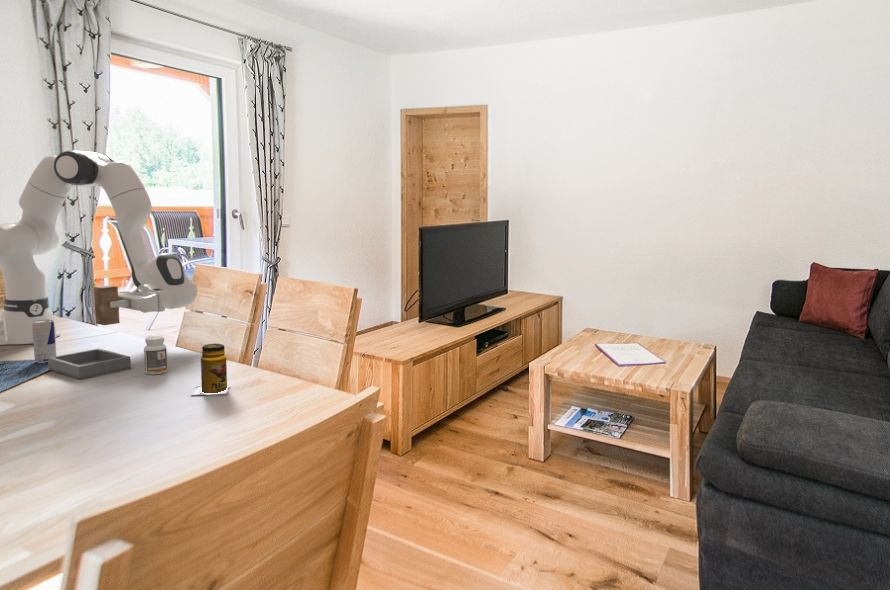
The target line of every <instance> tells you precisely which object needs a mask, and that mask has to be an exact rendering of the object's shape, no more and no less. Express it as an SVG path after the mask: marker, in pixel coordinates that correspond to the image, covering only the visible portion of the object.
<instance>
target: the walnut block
mask: <svg viewBox="0 0 890 590" xmlns="http://www.w3.org/2000/svg"><path fill="white" fill-rule="evenodd" d="M118 291H119V287H118V286H115V285H111V284H108V285H98V286H97V285H96V286H93V297H94V298H93V299H94V311H95V312H94V315H95V316H94V317H95V324H98V325H101V326H110V325H116V324H120V307H115V308H110V307H108V302H109V301H118Z"/></svg>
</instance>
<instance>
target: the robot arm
mask: <svg viewBox="0 0 890 590" xmlns="http://www.w3.org/2000/svg"><path fill="white" fill-rule="evenodd" d="M73 186H78V187H79V186H81V187H101V188H102V189H103V190H104V192H105V194H106V196H107V197H108V200H109V202H110V204H111V206H112V209H113V212H114V214H115V215H114V216H115V218H116V223H117V224H116V225H117V231H118V233H119V237H120V238H119V239H120V240H121V244H122V246H123V249H124V251H125V253H126V257H127V259H128V262H129V265H130V268H131V279H132V282H133V285H134V286H135V287H136V289H134V290H133V291H128V290H127V291H126V290H118V301H109V302H108V307H110V308H115V307H119V308H122V309H127V310H133V311H137V312H139V311H140V312H141V313H144V314H145V313H153V312H154V313H156V312H158V313H159V312H165V311H166V309H167V310H174V309H180V308H183V307H186V306H190V305H192V304H193V303H194V302H195V301H196V298H197V296H198V288H197V286H196V284H195V282H194V281H192V280H191V279H190V278H189V277H188V275H187V274H186V272H185V271H184V266H183V264H182V262H181V260H180V258H179V257H177V256H176V255H174V254H173V253H170V252H169V253H168V252H163V253H160V254H159V255H156V256H155V257H152V259H150V258H151V257H150V256H149V252H148V250H147V248H146V245H145V242H144V239H143V230H144V228H145V225H146V223H147V221H148V219H149V218H150V216H151V213H152V210H153V207H152V202H151V198H150V195H149V194H148V191H147V189H146V188H145V186H144V183H143V182H142V180H141V178H140V177H139V175H138V174H137V172H136V171H135V170H134V168H133V167H132V166H131V165H130V164H129V163H128V162H126V161H123V160H114V159H113V158H112V157H110V156H109V155H107V154H105V153H101V152H99V153H98V152H95V151H91V150H75V149H73V150H72V149H71V150H65V151H62V152H60V153H59V154H58V155H55V154H54V155H53V154H51V155H47V156H44V158H42V160H41V161H40V162H39V163H38V164H37V166H36V167H35V168H34V170H33V172H32V174H31V175H30V177H29V178H28V180H27V183H26V184H25V187H24V189H23V191H22V193H21V195H20V197H19V199H18V205H19V207H20V208H21V210H22V215H21V218H20V220H19V221H18V222H7V223H6V222H4V223H0V270H1V272H2V275H3V282H4V291H5V293H4V294H5V298H4V300H3V301H4V302H3V311H2V313H1V314H0V346H2V345H29V344H33V330H32V324H33V321H36V320H53V322H54V326H55V338H57V337H59V336H61V332H59V331H57V329H56V328H57V327H56V322H55V315H54V312H52V311H51V310H50V309H49V308H50V301H49V297H48V295H47V283H46V275H45V272H43V271H42V270H40V269H39V267H37V265H36V262H35V259H34V256H41V255H45V254H47V253H49V252H51V251H53V250H55V249H56V248H57V246H58V244H59V241H60V238H59V234H58V231H57V229H56V225H57V219H58V215H59V213H60V211H61V209H62V208H63V205H64V203H65V201H66V199H67V197H68V195H69V193H70V191H71V189H72V188H73Z"/></svg>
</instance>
